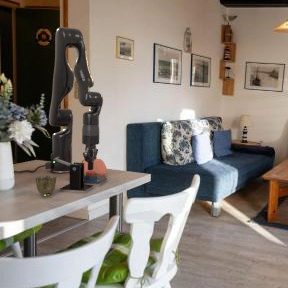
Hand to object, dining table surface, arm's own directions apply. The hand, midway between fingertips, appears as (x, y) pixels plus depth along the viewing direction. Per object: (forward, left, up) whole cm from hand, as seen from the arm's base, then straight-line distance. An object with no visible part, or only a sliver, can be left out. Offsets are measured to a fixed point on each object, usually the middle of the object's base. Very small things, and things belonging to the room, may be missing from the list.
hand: (90, 169), depth 179 cm
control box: (0, 0, -6) cm, 6 cm away
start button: (0, 0, -3) cm, 3 cm away
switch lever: (-6, -13, +4) cm, 15 cm away
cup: (-8, -26, -7) cm, 28 cm away
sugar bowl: (-4, +13, -7) cm, 15 cm away
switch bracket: (-1, -13, -6) cm, 14 cm away
